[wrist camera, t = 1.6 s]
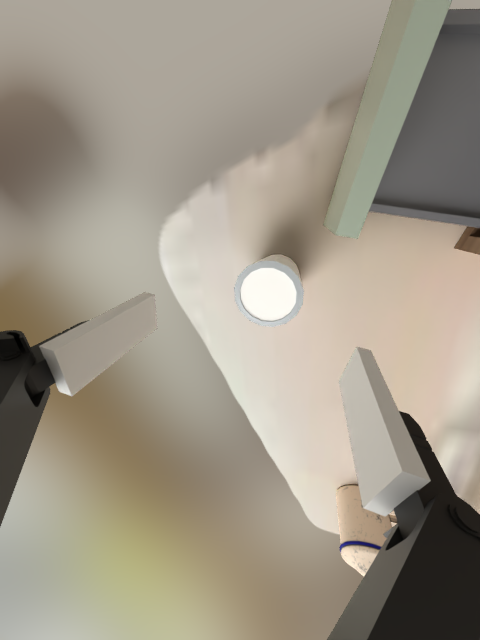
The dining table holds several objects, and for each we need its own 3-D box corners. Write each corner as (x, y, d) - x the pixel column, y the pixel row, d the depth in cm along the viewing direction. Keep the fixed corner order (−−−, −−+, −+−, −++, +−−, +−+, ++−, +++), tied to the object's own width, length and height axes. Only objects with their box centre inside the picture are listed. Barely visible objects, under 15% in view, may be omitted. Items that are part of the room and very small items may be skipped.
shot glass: (308, 298, 26) (307, 324, 20) (256, 305, 29) (242, 329, 23) (301, 242, 24) (298, 253, 18) (244, 255, 26) (225, 268, 20)
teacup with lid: (339, 506, 44) (348, 591, 35) (330, 481, 41) (336, 565, 31) (407, 516, 40) (440, 617, 30) (402, 487, 37) (437, 590, 27)
